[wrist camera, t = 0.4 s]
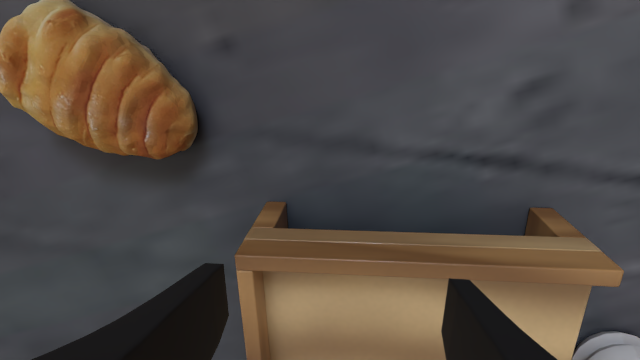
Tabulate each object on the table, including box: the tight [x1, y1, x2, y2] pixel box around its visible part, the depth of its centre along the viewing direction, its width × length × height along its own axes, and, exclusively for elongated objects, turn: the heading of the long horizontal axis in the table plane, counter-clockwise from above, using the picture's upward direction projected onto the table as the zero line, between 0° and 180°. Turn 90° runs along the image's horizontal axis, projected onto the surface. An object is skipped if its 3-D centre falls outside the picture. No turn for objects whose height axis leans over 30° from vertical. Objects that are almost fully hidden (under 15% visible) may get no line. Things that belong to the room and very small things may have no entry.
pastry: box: [0, 0, 198, 159], centre depth 19 cm, size 9×7×4 cm
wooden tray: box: [235, 202, 624, 360], centre depth 21 cm, size 14×16×6 cm
